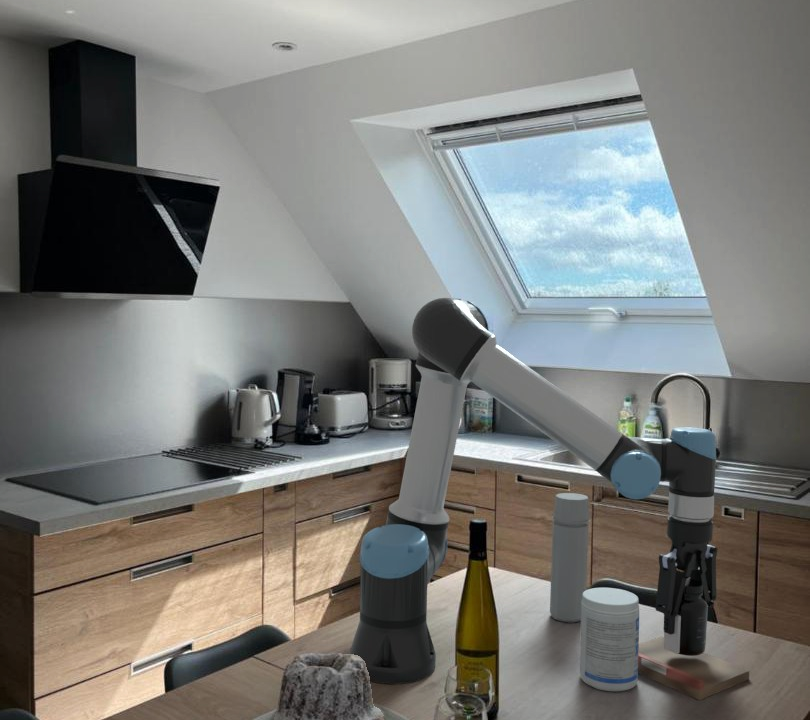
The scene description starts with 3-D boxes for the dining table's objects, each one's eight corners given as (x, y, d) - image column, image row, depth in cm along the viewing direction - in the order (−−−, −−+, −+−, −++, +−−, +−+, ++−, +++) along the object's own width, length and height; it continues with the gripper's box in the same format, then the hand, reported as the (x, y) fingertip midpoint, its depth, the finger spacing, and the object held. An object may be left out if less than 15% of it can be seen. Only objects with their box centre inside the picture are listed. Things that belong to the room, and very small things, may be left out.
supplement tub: (648, 690, 138) (651, 603, 137) (596, 696, 136) (599, 607, 135) (618, 666, 147) (621, 584, 147) (569, 671, 145) (571, 588, 144)
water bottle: (585, 626, 166) (590, 501, 165) (545, 621, 168) (549, 498, 167) (588, 610, 175) (593, 492, 174) (551, 606, 177) (554, 489, 176)
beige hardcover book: (611, 661, 149) (611, 644, 149) (661, 644, 158) (661, 628, 158) (698, 700, 135) (699, 682, 135) (748, 679, 143) (749, 662, 143)
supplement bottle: (658, 649, 147) (661, 582, 146) (673, 638, 152) (676, 573, 151) (697, 660, 142) (700, 591, 142) (711, 648, 147) (714, 581, 147)
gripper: (705, 505, 155) (700, 627, 156) (636, 519, 143) (631, 651, 144) (742, 514, 148) (736, 641, 150) (673, 529, 137) (667, 666, 138)
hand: (684, 645), depth 147 cm, fingers closed on supplement bottle, 7 cm apart
